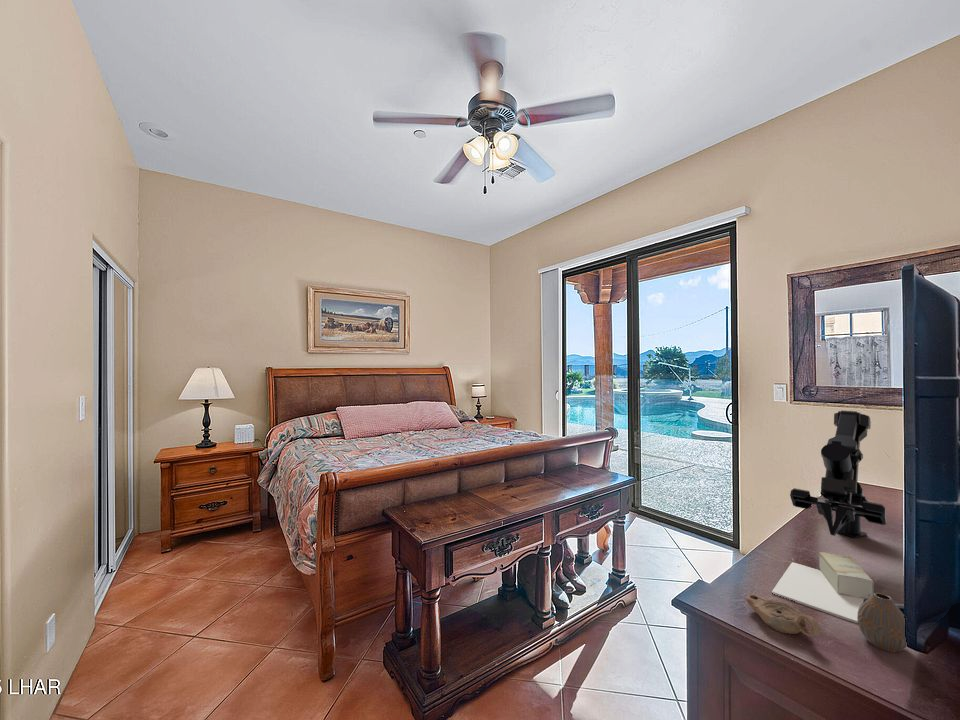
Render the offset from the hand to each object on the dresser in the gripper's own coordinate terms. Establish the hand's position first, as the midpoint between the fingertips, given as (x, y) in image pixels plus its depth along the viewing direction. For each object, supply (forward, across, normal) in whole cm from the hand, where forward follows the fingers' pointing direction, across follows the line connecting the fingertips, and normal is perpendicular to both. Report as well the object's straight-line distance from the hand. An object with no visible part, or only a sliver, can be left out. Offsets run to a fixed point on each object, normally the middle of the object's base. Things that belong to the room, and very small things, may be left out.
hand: (832, 534), depth 103 cm
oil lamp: (+33, -3, -23) cm, 40 cm away
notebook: (+18, 0, -7) cm, 19 cm away
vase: (+28, +11, -17) cm, 35 cm away
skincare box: (+7, +1, 0) cm, 7 cm away
